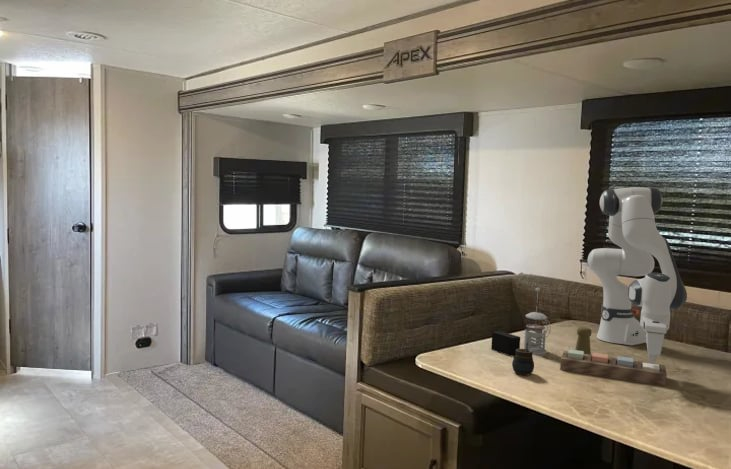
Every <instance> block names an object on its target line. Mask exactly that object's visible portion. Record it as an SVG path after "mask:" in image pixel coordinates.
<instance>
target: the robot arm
mask: <svg viewBox="0 0 731 469" xmlns="http://www.w3.org/2000/svg"><path fill="white" fill-rule="evenodd" d="M662 205H663V196H662V193H661V190H659V189H658V187H657V188H656V187H652V186H648V187H641V186H640V187H639V186H630V187H622V188H616V189H615V188H611V189H610V188H609V189H605V190H604V191H603V192H602V193H601V195H600V198H599V207H600V210H601V212H602V214H604V215H605V216H609V217H608V218H609V220H608V231H607V234H608V235H607V236H608V238H609V240H610V241H611V242H612V244H614V245H616V246H617V247H620V248H613V247H612V248H610V247H603V248H601V247H600V248H594V249H592V250H591V251H590V252H589V253H588V256H587V265H588V267H589V269H590V270H591V271H592V272H593V273H594V274H596V276H597V277H598V278H599V280H600V283H601V286H602V289H603V290H602V291H603V292H602V293H603V300H602V301H603V302H602V305H601V312H600V313H601V318H600V321H599V322H600V324H599V327H598V331H597V334H596V339H598V340H600V341H604V342H606V343H612V344H620V345H626V346H636V345H641V344H646V349H647V351H646V352H647V355H648V363H652V364H656V363H655V362H656V357H660V356H661V353H662V350H663V345H664V339H665V334H667V332H668V330H669V329H670V323H671V310H675V311H677V310H678V309H680V308H682V307H683V305H684V304H685V303H686V302H687V300H688V292H687V289H686V287H685V285H684V283H683V280H682V279H681V276H680V273H679V270H678V266H677V264H676V259H675V257H674V255H673V254H674V253H673V251H672V249H671V246H670V244H669V241H668V240H667V238H666V237H663V236H662V235H661V233H660V232H659V230H658V228H657V226H656V221H655V220H656V219H655V214H657V213H658V212H659V211H660V210H661V209H662ZM654 258H655V259H656V260H657V262H658V264H659V267H660V271H661V273H660V272H653V271H654V269H655V259H654ZM618 276H627V277H642V276H643V278H640V279H634V280H633V281H632V282H630V284H629V285H627V284H625V283H623V282H622V281H620V280H619V279H618ZM632 304H633V305H634V306H637V307H641V311H640V318H639V319H640V320H638V319H636V318H635V315H639V309H636V308H632Z"/></svg>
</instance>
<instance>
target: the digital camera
mask: <svg viewBox="0 0 731 469" xmlns="http://www.w3.org/2000/svg"><path fill="white" fill-rule="evenodd" d="M520 346H521V336H519V335H515V334H512V333H511V334H510V333H509V332H506V331H505V332H504V331H502V330H497V331H492V332H491V350H492V351H495V352H498V353H500V354H501V353H502V354H504V355H506V356H510V357H515V354H516V353H515V352H516V349H521V347H520Z"/></svg>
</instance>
